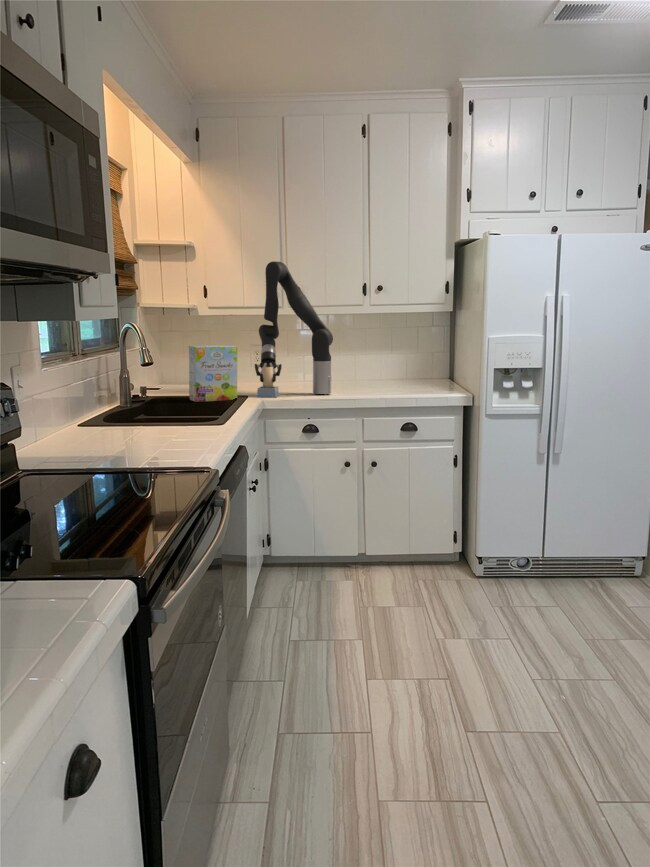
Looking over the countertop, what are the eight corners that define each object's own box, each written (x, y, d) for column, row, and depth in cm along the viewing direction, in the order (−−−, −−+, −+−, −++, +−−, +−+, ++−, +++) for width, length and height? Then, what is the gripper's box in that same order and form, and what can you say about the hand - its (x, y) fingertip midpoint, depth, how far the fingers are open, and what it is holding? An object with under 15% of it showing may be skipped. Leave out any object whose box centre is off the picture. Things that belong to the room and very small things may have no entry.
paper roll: (274, 390, 312) (274, 366, 310) (272, 392, 307) (272, 367, 304) (263, 390, 312) (263, 366, 310) (261, 391, 307) (261, 367, 305)
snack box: (195, 402, 285) (194, 346, 280) (188, 400, 292) (187, 345, 287) (238, 399, 297) (237, 345, 292) (231, 397, 304) (230, 344, 299)
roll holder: (279, 395, 314) (279, 386, 313) (276, 397, 305) (276, 388, 304) (260, 395, 315) (260, 386, 314) (256, 397, 306) (256, 388, 305)
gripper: (254, 350, 313) (253, 376, 303) (282, 350, 314) (282, 376, 304) (254, 360, 319) (253, 386, 309) (282, 360, 320) (282, 386, 310)
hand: (267, 381), depth 307 cm, fingers closed on paper roll, 5 cm apart
